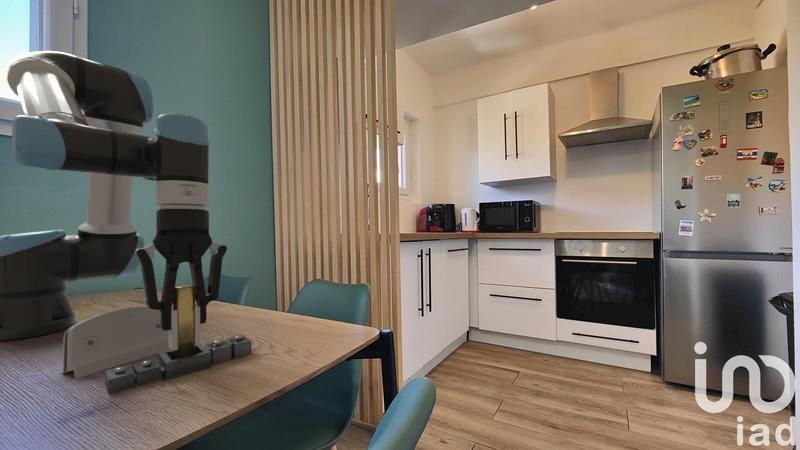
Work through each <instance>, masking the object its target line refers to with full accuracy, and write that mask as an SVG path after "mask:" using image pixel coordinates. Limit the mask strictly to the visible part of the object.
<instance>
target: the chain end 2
mask: <svg viewBox="0 0 800 450" xmlns="http://www.w3.org/2000/svg"><path fill="white" fill-rule="evenodd" d="M196 353H197V354H195V355H190V356H186V357H182V358H178V359H174V360H171V359H172V358H174V351H172V350H171V349H169V350H166V351H163V352H159V353H157V362H158V361H159V362H160V364H161V365H162V367H163V368H164V369H165V371H166V372H167V371H171V370H175V369H178V368H182V367H186V366H190V365H193V364H197V363H201V362H205V361H208V360H211V366H212V365H213V366H215V365H218V364H220V363H221V364H222V363H225V362H229V361H231V360H232V358H233V359H235V360H236V359H238V358H243V357H246V356H250V355H252V339H250V338H248V337H247V336H245V335H243V334H239V335H235V336H231V337H227V338H225V339H223V338H221V339H217V340H213V341H209V342H206V343H204V344H202V343H201V342H200V345H196Z"/></svg>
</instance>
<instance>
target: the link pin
mask: <svg viewBox="0 0 800 450" xmlns="http://www.w3.org/2000/svg"><path fill="white" fill-rule="evenodd" d="M195 304H196V301H195V285H193V284H185V285H178V286H175V290H174V297H173V304H172V308H173V310H177V335H178V350H175V351H174V359H178V358H182V357H186V356H190V355H195V354H196V346H195V311H194V307H195Z"/></svg>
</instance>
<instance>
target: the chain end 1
mask: <svg viewBox="0 0 800 450" xmlns="http://www.w3.org/2000/svg"><path fill="white" fill-rule="evenodd" d="M196 354H197V353H196ZM171 360H174V358H172V359H171ZM210 368H212V364H211V360H208V361H205V362H201V363H197V364H193V365H190V366H186V367H182V368H178V369H175V370H171V371H167V372H166V371H165V369H164V368H163V367H162V365H161V364H160V362H159V361H158V359H156V358H152V359H147V360H143V361H139V362H135V363H132V366H131V364H127V365H122V366H121V365H120V366H116V367H113V368H108V369H105V370H104V373H105V374H104V377H105V380H104V383H105V388H106V392H107V394H108V395H110V394H113V393H116V392H119V391H123V390H127V389H131V388H134V387H136V386H137V387H138V386H142V385H145V384H146V385H147V384H148V383H153V382H156V381H159V380H162V378H164V380H166V381H167V380H172V379H174V378H175V379H176V378H178V377H182V376H185V375H188V374H193V373H196V372H199V371H203V370H207V369H210ZM135 385H136V386H135Z"/></svg>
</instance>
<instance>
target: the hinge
mask: <svg viewBox="0 0 800 450" xmlns="http://www.w3.org/2000/svg"><path fill="white" fill-rule="evenodd" d="M62 343H63V345H62V347H63V348H62V374H66V373H69V372H72V371H73V375H74V379H79V378H84V377H85V376H88V375H92V374H96V373H98V372H101V371H105V370H109V369H113V368H116V367H119V366H121V365H124V364H128V363H131V362H134V361H137V360H140V359H143V358H146V357H150V356H152V355H156V354H158V353H159V352H163V351H168V350H171V349H170V348H169V339H168V330H167V331H164V330H163V329H162V328H161V311H160V310H155V309H154V310H153V309H150V308H149V307H148V306H147V305H145V306H133V307H132V306H131V307H126V308H125V307H124V308H119V309H114V310H111V311H107V312H103V313H99V314H97V315H94V316H92V317H89V318H87V319H84V320H82V321H80V322H78V323H76V324H75V325H73V326H71V327H69V328H66V329H65V331H64V334H63V342H62Z"/></svg>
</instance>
